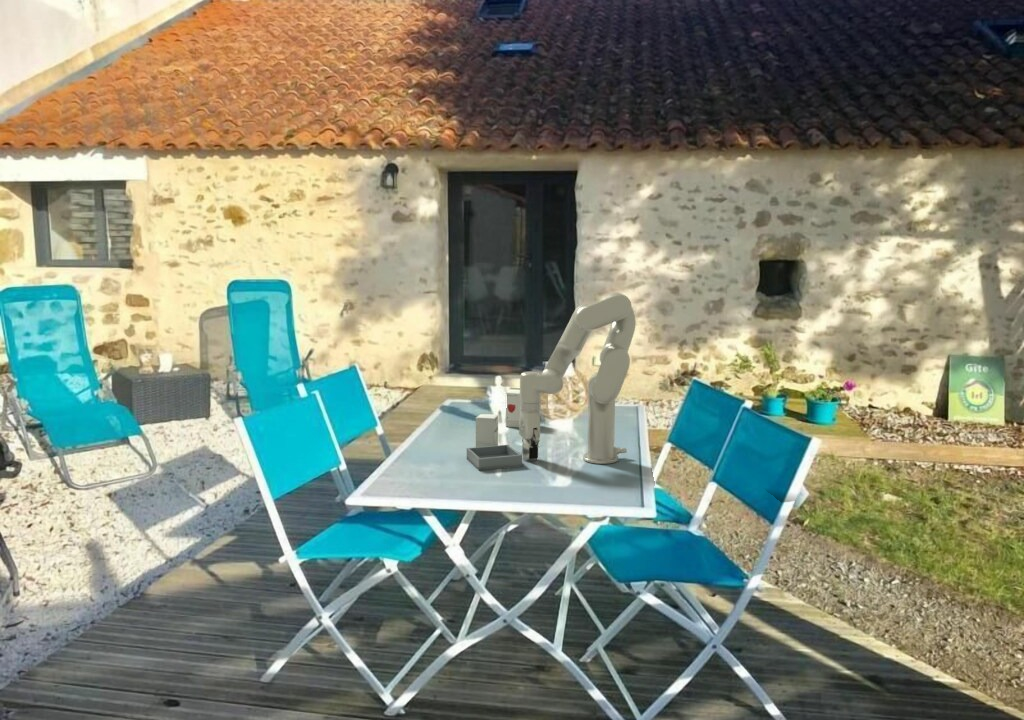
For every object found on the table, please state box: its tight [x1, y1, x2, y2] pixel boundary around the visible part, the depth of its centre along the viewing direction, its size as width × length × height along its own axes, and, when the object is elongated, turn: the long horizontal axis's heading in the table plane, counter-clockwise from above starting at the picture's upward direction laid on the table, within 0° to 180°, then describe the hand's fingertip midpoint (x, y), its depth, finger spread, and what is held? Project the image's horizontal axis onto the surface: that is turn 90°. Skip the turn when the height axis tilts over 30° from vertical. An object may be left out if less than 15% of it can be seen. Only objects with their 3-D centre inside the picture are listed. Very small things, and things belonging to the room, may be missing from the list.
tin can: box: [522, 437, 538, 463], centre depth 274 cm, size 5×5×8 cm
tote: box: [466, 444, 523, 471], centre depth 271 cm, size 16×16×4 cm
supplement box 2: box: [505, 388, 520, 429], centre depth 328 cm, size 9×9×15 cm
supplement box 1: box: [475, 413, 499, 447], centre depth 289 cm, size 7×7×13 cm
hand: (530, 455), depth 275 cm, fingers open, 6 cm apart
